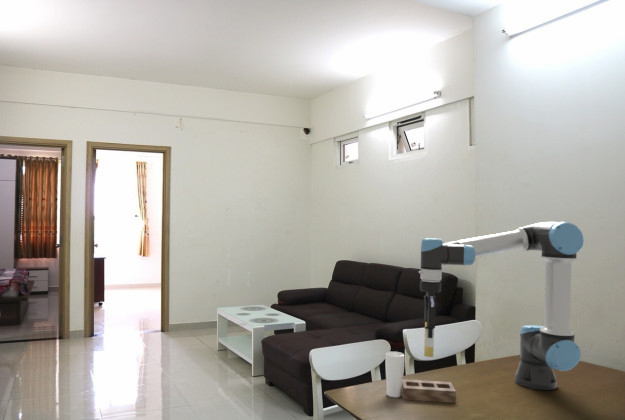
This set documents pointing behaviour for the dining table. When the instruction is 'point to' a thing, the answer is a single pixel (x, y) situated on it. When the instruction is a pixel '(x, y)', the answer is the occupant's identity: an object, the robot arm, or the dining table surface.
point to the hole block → (428, 391)
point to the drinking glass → (394, 373)
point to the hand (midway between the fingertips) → (428, 345)
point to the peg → (428, 350)
